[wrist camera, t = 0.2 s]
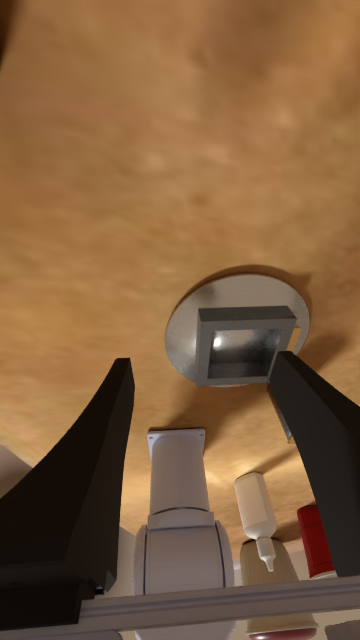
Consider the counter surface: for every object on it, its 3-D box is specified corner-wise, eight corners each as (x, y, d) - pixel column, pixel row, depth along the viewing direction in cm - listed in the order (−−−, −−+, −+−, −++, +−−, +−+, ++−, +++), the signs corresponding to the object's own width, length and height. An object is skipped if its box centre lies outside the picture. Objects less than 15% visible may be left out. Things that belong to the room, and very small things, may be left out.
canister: (254, 532, 66) (287, 667, 49) (303, 536, 72) (347, 658, 54) (219, 549, 75) (236, 668, 58) (264, 552, 81) (292, 661, 64)
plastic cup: (331, 496, 53) (369, 575, 43) (333, 511, 59) (367, 583, 49) (282, 507, 55) (307, 584, 45) (289, 519, 61) (313, 590, 51)
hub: (285, 380, 29) (295, 399, 27) (167, 386, 28) (167, 405, 26) (328, 270, 20) (347, 284, 18) (162, 274, 20) (162, 290, 18)
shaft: (294, 395, 31) (320, 444, 26) (263, 397, 30) (283, 446, 25) (304, 373, 28) (335, 423, 23) (270, 375, 28) (294, 425, 23)
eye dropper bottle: (230, 476, 44) (249, 571, 34) (260, 469, 43) (289, 565, 33) (235, 485, 46) (254, 575, 36) (264, 479, 45) (292, 570, 36)
